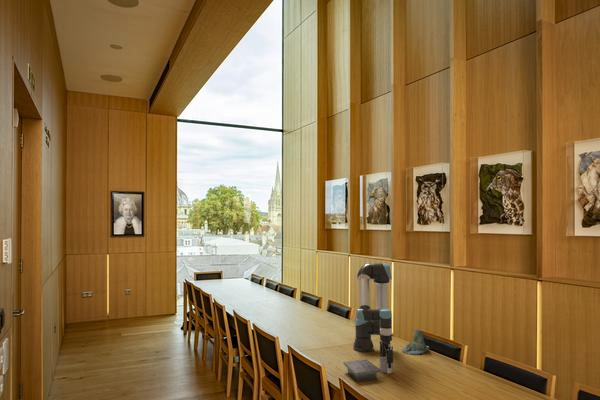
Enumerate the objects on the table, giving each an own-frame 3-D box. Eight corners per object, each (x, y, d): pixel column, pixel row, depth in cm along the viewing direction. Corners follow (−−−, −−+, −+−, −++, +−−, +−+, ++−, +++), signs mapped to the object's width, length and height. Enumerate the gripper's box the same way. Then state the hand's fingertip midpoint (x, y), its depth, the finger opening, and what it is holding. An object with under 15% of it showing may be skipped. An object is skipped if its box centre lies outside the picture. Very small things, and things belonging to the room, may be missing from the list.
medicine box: (391, 370, 268) (391, 356, 269) (393, 372, 264) (393, 358, 264) (379, 370, 268) (379, 356, 268) (381, 372, 263) (380, 358, 264)
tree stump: (395, 349, 313) (399, 325, 316) (418, 353, 319) (421, 329, 322) (410, 355, 295) (414, 329, 299) (433, 359, 301) (437, 334, 305)
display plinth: (343, 371, 266) (343, 361, 267) (366, 368, 271) (366, 359, 271) (356, 383, 247) (356, 372, 247) (380, 380, 251) (380, 369, 252)
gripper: (373, 330, 275) (374, 366, 274) (387, 338, 257) (388, 377, 255) (384, 330, 277) (384, 365, 276) (398, 337, 259) (399, 375, 258)
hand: (386, 371), depth 266 cm, fingers open, 6 cm apart
